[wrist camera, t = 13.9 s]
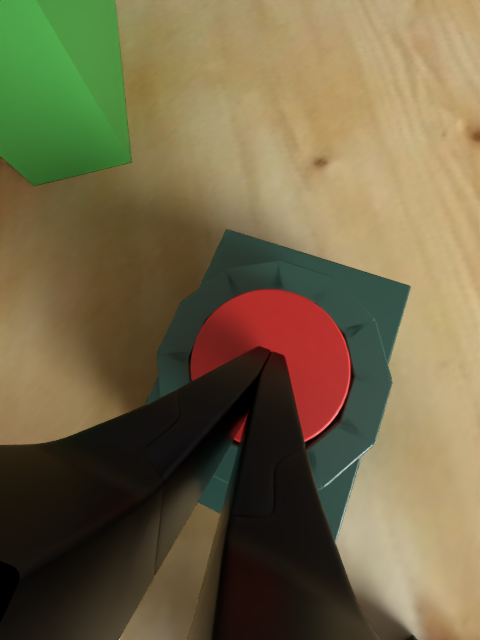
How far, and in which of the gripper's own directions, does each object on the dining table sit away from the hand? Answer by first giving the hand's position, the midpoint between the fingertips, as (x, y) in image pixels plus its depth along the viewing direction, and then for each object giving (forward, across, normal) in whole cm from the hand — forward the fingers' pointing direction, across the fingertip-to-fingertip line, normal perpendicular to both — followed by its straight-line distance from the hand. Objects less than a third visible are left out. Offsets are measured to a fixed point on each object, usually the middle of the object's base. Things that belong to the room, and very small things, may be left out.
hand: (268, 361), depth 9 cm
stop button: (+2, 0, +2) cm, 3 cm away
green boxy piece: (+5, 0, +5) cm, 7 cm away
